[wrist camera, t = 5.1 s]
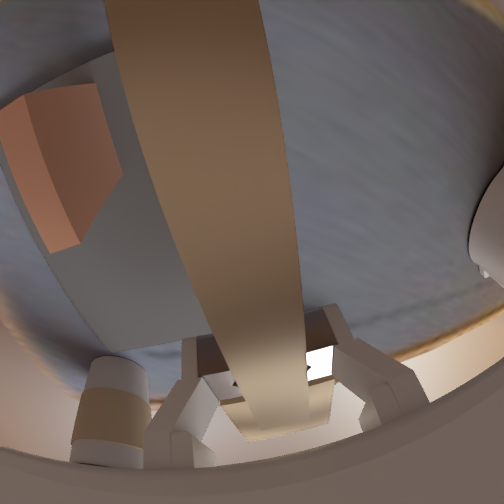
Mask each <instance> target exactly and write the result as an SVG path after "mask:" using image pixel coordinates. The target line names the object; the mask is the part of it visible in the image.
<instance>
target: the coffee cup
mask: <svg viewBox="0 0 504 504" xmlns="http://www.w3.org/2000/svg"><path fill="white" fill-rule="evenodd" d="M151 420H152V418H151V408H150V406H149V393H148V376H147V373H146V371H145V370H144V369H143V368H142V367H141V366H139V365H138V364H136V363H135V362H133V361H130V360H128V359H125V358H121V357H116V356H102V357H98V358H96V359H95V360H93V361H92V363H91V366H90V370H89V373H88V377H87V381H86V384H85V388H84V391H83V393H82V395H81V399H80V403H79V407H78V411H77V416H76V420H75V425H74V430H73V434H72V440H71V445H72V450H71V455H70V461H69V462H72V463H78V464H85V465H93V466H102V467H113V468H128V469H143V436H144V431H145V430H146V428H147V426H148V425H149V423H150V422H151Z"/></svg>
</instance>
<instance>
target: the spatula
mask: <svg viewBox="0 0 504 504" xmlns="http://www.w3.org/2000/svg"><path fill="white" fill-rule="evenodd" d="M104 4H105V9H106V14H107V19H108V24H109V29H110V34H111V38H112V43H113V47H114V51H115V56H116V60H117V64H118V68H119V72H120V76H121V80H122V83H123V87H124V91H125V95H126V98H127V102H128V105H129V109H130V112H131V116H132V119H133V123H134V126H135V129H136V133H137V136H138V139H139V142H140V146H141V149H142V152H143V155H144V158H145V161H146V164H147V167H148V170H149V173H150V176H151V179H152V182H153V185H154V188H155V191H156V194H157V196H158V199H159V202H160V205H161V208H162V210H163V213H164V216H165V219H166V221H167V224H168V227H169V229H170V232H171V234H172V237H173V240H174V242H175V245H176V247H177V250H178V253H179V255H180V258H181V260H182V263H183V265H184V268H185V270H186V272H187V275H188V277H189V280H190V282H191V285H192V287H193V289H194V292H195V294H196V296H197V299H198V301H199V303H200V306H201V308H202V310H203V312H204V315H205V317H206V319H207V322H208V324H209V326H210V328H211V330H212V333H213V335H214V337H215V339H216V341H217V343H218V346H219V348H220V350H221V352H222V354H223V356H224V358H225V360H226V363H227V365H228V367H229V369H230V371H231V373H232V375H233V377H234V379H235V381H236V383H237V385H238V387H239V389H240V391H241V393H242V395H243V396H240V397H235V398H230V399H225V400H220V404H221V407H222V408H223V410H224V411H225V412H226V414H227V415H228V417H229V418H230V419H231V421H232V422H233V423H234V425H235V426H236V427H237V429H238V430H239V431H240V433H241V434H242V435H243V436H244V438H245V439H246V440H247V442H252V441H259V440H264V439H269V438H274V437H278V436H283V435H287V434H291V433H295V432H299V431H303V430H307V429H310V428H314V427H318V426H321V425H325V424H328V423H329V417H330V411H331V404H332V397H333V389H334V382H335V378H334V377H333V376H332V374H331V375H328V376H324V377H320V378H317V379H313V380H309V381H308V379H307V363H306V338H305V323H304V310H303V298H302V287H301V276H300V265H299V255H298V246H297V236H296V227H295V219H294V210H293V202H292V194H291V186H290V179H289V171H288V164H287V157H286V150H285V143H284V136H283V130H282V123H281V117H280V111H279V105H278V99H277V93H276V87H275V82H274V76H273V71H272V65H271V60H270V55H269V49H268V44H267V39H266V34H265V30H264V25H263V20H262V15H261V11H260V6H259V2H258V0H104Z"/></svg>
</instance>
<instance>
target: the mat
mask: <svg viewBox="0 0 504 504" xmlns="http://www.w3.org/2000/svg"><path fill="white" fill-rule="evenodd" d="M91 83H96V85H97V89H98V93H99V96H100V100H101V104H102V107H103V111H104V114H105V118H106V121H107V125H108V128H109V131H110V135H111V138H112V141H113V144H114V147H115V150H116V153H117V156H118V159H119V162H120V165H121V168H122V171H123V175H122V176H121V178H120V179H119V181H118V182H117V184H116V185H115V187H114V188H113V190H112V191H111V193H110V195H109V196H108V198H107V199H106V201H105V202H104V204H103V206H102V207H101V209H100V211H99V212H98V214H97V216H96V217H95V219H94V221H93V222H92V224H91V226H90V228H89V229H88V231H87V233H86V235H85V236H84V238H83V240H82V242H81V244H78V245H75V246H72V247H69V248H66V249H63V250H60V251H57V252H54V253H51V254H50V253H49V251H48V249H47V247H46V245H45V243H44V242H43V240H42V238H41V236H40V234H39V232H38V230H37V228H36V226H35V224H34V222H33V220H32V218H31V216H30V214H29V212H28V210H27V207H26V205H25V203H24V201H23V198H22V196H21V194H20V192H19V189H18V187H17V184H16V182H15V179H14V177H13V174H12V172H11V169H10V166H9V164H8V161H7V158H6V155H5V153H4V150H3V147H2V143H1V140H0V164H1V167H2V170H3V172H4V175H5V178H6V180H7V183H8V185H9V188H10V190H11V192H12V195H13V197H14V199H15V201H16V204H17V206H18V208H19V210H20V212H21V214H22V217H23V219H24V221H25V223H26V225H27V227H28V229H29V231H30V233H31V235H32V236H33V238H34V240H35V242H36V244H37V246H38V248H39V249H40V251H41V253H42V255H43V256H44V258H45V260H46V262H47V263H48V265H49V267H50V268H51V270H52V272H53V273H54V275H55V277H56V278H57V280H58V281H59V283H60V285H61V286H62V288H63V289H64V291H65V292H66V294H67V295H68V297H69V298H70V300H71V301H72V303H73V304H74V306H75V307H76V308H77V310H78V311H79V313H80V314H81V315H82V317H83V318H84V320H85V321H86V322H87V324H88V325H89V326H90V328H91V329H92V330H93V332H94V333H95V334H96V336H97V337H98V338H99V339H100V341H101V342H102V343H103V344H104V346H105V347H106V348H107V349H108V351H109V352H110V353H113V352H119V351H125V350H131V349H137V348H143V347H149V346H154V345H160V344H165V343H170V342H175V341H180V340H183V338H189V337H195V336H200V335H206V334H212V330H211V328H210V326H209V324H208V322H207V319H206V317H205V315H204V312H203V310H202V308H201V306H200V303H199V301H198V299H197V296H196V294H195V292H194V289H193V287H192V285H191V282H190V280H189V277H188V275H187V272H186V270H185V268H184V265H183V263H182V260H181V258H180V255H179V253H178V250H177V247H176V245H175V242H174V240H173V237H172V234H171V232H170V229H169V227H168V224H167V221H166V219H165V216H164V213H163V210H162V208H161V205H160V202H159V199H158V196H157V194H156V191H155V188H154V185H153V182H152V179H151V176H150V173H149V170H148V167H147V164H146V161H145V158H144V155H143V152H142V149H141V146H140V142H139V139H138V136H137V133H136V129H135V126H134V123H133V119H132V116H131V112H130V109H129V105H128V102H127V98H126V95H125V91H124V87H123V83H122V80H121V76H120V72H119V68H118V64H117V60H116V56H115V51H113V52H110V53H108V54H105V55H103V56H101V57H98V58H96V59H94V60H91V61H89V62H87V63H85V64H83V65H80V66H78V67H76V68H74V69H72V70H70V71H68V72H66V73H64V74H62V75H60V76H58V77H57V78H55V79H53V80H51V81H49V82H47V83H46V84H44V85H42V86H40V87H39V88H37V89H35V90H34V91H32V92H37V91H42V90H47V89H53V88H59V87H66V86H73V85H81V84H91ZM32 92H30V93H32Z"/></svg>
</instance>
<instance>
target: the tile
mask: <svg viewBox="0 0 504 504" xmlns="http://www.w3.org/2000/svg"><path fill="white" fill-rule="evenodd" d="M0 140H1V143H2V147H3V150H4V153H5V155H6V158H7V161H8V164H9V166H10V169H11V172H12V174H13V177H14V179H15V182H16V184H17V187H18V189H19V192H20V194H21V196H22V198H23V201H24V203H25V205H26V207H27V210H28V212H29V214H30V216H31V218H32V220H33V222H34V224H35V226H36V228H37V230H38V232H39V234H40V236H41V238H42V240H43V242H44V243H45V245H46V247H47V249H48V251H49V253H50V254H51V253H54V252H57V251H60V250H63V249H66V248H69V247H72V246H75V245H78V244H81V242H82V240H83V238H84V236H85V235H86V233H87V231H88V229H89V228H90V226H91V224H92V222H93V221H94V219H95V217H96V216H97V214H98V212H99V211H100V209H101V207H102V206H103V204H104V202H105V201H106V199H107V198H108V196H109V195H110V193H111V191H112V190H113V188H114V187H115V185H116V184H117V182H118V181H119V179H120V178H121V176H122V175H123V171H122V168H121V165H120V162H119V159H118V156H117V153H116V150H115V147H114V144H113V141H112V138H111V135H110V131H109V128H108V125H107V121H106V118H105V114H104V111H103V107H102V104H101V100H100V96H99V93H98V89H97V85H96V83H91V84H81V85H73V86H66V87H59V88H53V89H47V90H42V91H37V92H32V93H27V94H23V95H22V96H20V97H19V98H17V99H16V100H14V101H13V102H11V103H10V104H8V105H7V106H5V107H4V108H3V109H1V110H0Z"/></svg>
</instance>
